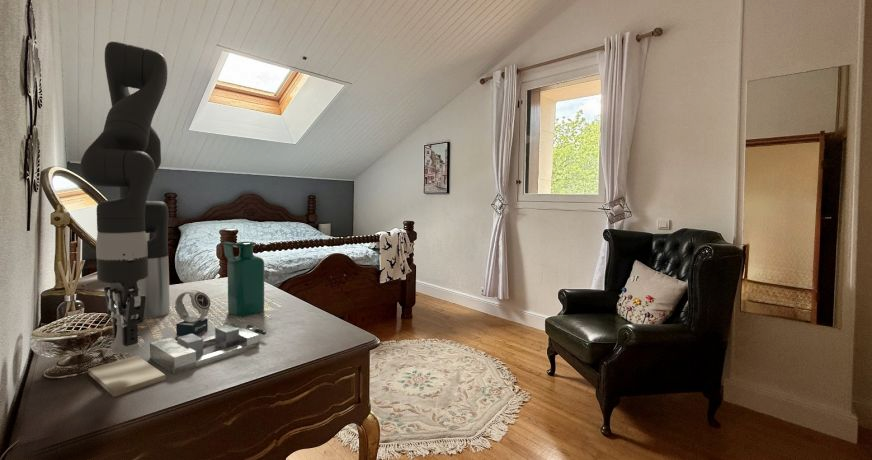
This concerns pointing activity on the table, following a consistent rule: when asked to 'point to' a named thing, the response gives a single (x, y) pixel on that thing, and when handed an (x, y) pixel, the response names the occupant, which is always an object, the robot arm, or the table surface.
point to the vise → (191, 347)
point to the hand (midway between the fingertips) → (125, 341)
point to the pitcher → (244, 280)
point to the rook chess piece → (118, 343)
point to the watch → (192, 323)
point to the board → (126, 375)
